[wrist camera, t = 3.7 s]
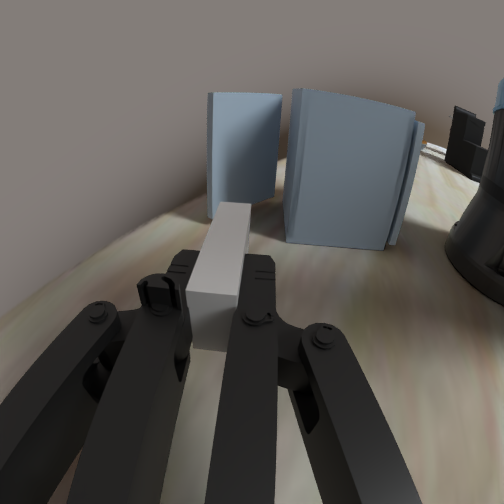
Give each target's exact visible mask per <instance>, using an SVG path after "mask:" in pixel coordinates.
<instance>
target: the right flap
mask: <svg viewBox="0 0 504 504" xmlns="http://www.w3.org/2000/svg"><path fill="white" fill-rule="evenodd" d="M281 107H282V95H280V94H266V93H238V92H236V93H235V92H233V93H232V92H229V93H228V92H221V93H219V92H217V93H208V104H207V212H208V218H210V219H212V220H213V218H214V216H215V213H216V211H217V208H218V206H219V203H220V202H234V203H248V204H251V205H252V204H255V203H258V202H260V201H263V200H266V199H268V198H271V197H274V193H275V181H276V170H277V158H278V146H279V132H280V119H281Z"/></svg>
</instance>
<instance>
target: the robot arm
mask: <svg viewBox="0 0 504 504" xmlns="http://www.w3.org/2000/svg"><path fill="white" fill-rule="evenodd" d="M493 114H494V120H493V127H492V133H491V138H490V144H489V148H488V153H487V157H486V161H485V165H484V169H483V174H482V177H481V181H480V184H479V188H478V191H477V193H476V194H475V196H474V198H473V199H472V200H471V202H470V204H469V205H468V207H467V208H466V210H465V211H464V213H463V215H462V217H461V218H460V220H459V221H457V222H456V223H455V224H454V225H453V226H452V228H451V230H450V233H449V236H448V238H447V241H446V244H445V249H446V253H447V255H448V257H449V259H450V261H451V262H452V263H453V265H454V266H455V267H456V269H457V270H458V271H459V272H460V273H461V274H462V275H463V276H464V277H465V278H466V279H467V280H468V281H469V282H470V283H471V284H472V285H473V286H475V287H476V288H477V289H478V290H480V291H481V292H482V293H484V294H485V295H487V296H488V297H490V298H491V299H493V300H495V301H497V302H498V303H500V304H502V305H504V78H503V79H502V80H501V81H500V83H499V85H498V92H497V97H496V104H495V107H494V108H493ZM250 215H251V204H248V203H234V202H220V203H219V206H218V208H217V211H216V213H215V216H214V218H213V220H212V223H211V225H210V228H209V230H208V233H207V235H206V238H205V240H204V243H203V246H202V248H201V251H196V250H184V249H183V250H182V251H180V252H179V253H178V254H177V255H175V256H174V258H173V260H172V262H171V265H170V266H169V268H168V270H167V272H166V274H153V275H149V276H147V277H145V278H143V279H141V280H140V281H139V283H138V284H137V288H138V293H139V297H140V300H141V304H142V306H141V308H139V309H135V310H128V311H118V312H117V309H116V307H115V305H113V304H112V303H110V302H107V301H96V302H94V303H91V304H89V305H88V306H87V307H85V308H84V309H83V310H82V311H81V312H80V313H79V314H78V315H77V316H76V317H75V318H74V319H73V320H72V321H71V323H70V324H69V325H68V326H67V327H66V328H65V329H64V330H63V331H62V332H61V333H60V334H59V335H58V337H57V338H56V339H55V340H54V341H53V342H52V343H51V344H50V345H49V346H48V348H47V349H46V350H45V351H44V352H43V353H42V354H41V356H40V357H39V358H38V359H37V360H36V361H35V362H34V364H33V365H32V366H31V367H30V368H29V370H28V371H27V372H26V373H25V374H24V376H23V377H22V378H21V379H20V380H19V382H18V383H17V384H16V385H15V387H14V388H13V389H12V390H11V392H10V393H9V394H8V396H7V397H6V398H5V399H4V401H3V402H2V403H1V405H0V504H47V502H48V501H49V499H50V497H51V496H52V494H53V492H54V491H55V489H56V488H57V486H58V484H59V483H60V481H61V480H62V478H63V476H64V475H65V473H66V472H67V470H68V468H69V467H70V465H71V464H72V462H73V461H74V459H75V457H76V456H77V454H78V453H79V451H80V450H81V448H82V447H83V449H82V452H81V455H80V458H79V462H78V465H77V468H76V471H75V475H74V478H73V482H72V485H71V489H70V492H69V496H68V500H67V504H159V503H160V497H161V492H162V487H163V482H164V476H165V471H166V467H167V462H168V457H169V452H170V447H171V443H172V438H173V433H174V429H175V424H176V420H177V415H178V411H179V407H180V402H181V398H182V394H183V389H184V385H185V381H186V377H187V373H188V368H189V364H190V351H189V350H190V346H191V342H192V343H193V348H196V349H204V350H212V351H221V352H227V355H226V361H225V368H224V374H223V381H222V387H221V394H220V401H219V407H218V414H217V421H216V427H215V434H214V441H213V448H212V455H211V461H210V468H209V475H208V482H207V490H206V497H205V504H274V498H275V474H276V443H277V393H278V386H281V387H284V388H287V389H288V392H289V395H290V399H291V402H292V405H293V409H294V412H295V415H296V418H297V422H298V425H299V428H300V431H301V435H302V438H303V441H304V444H305V448H306V451H307V454H308V457H309V461H310V464H311V467H312V470H313V473H314V477H315V480H316V483H317V486H318V490H319V493H320V496H321V499H322V502H323V504H422V502H421V500H420V497H419V495H418V492H417V490H416V487H415V485H414V482H413V480H412V478H411V475H410V473H409V470H408V468H407V466H406V463H405V461H404V459H403V457H402V454H401V452H400V450H399V447H398V445H397V443H396V441H395V438H394V436H393V434H392V432H391V430H390V427H389V425H388V423H387V421H386V419H385V417H384V415H383V412H382V410H381V408H380V406H379V404H378V402H377V400H376V398H375V396H374V393H373V391H372V389H371V387H370V385H369V383H368V381H367V379H366V377H365V375H364V373H363V371H362V369H361V367H360V365H359V363H358V361H357V359H356V357H355V355H354V353H353V351H352V349H351V347H350V345H349V343H348V341H347V339H346V338H345V336H344V334H343V333H342V332H341V331H340V330H339V329H338V328H336V327H335V326H333V325H330V324H326V323H315V324H312V325H309V326H308V327H307V328H305V329H301V328H297V327H294V326H292V325H289V324H287V323H286V322H284V321H283V320H282V319H281V318H280V317H279V316H278V314H277V312H276V287H275V262H274V261H273V259H272V258H271V256H269V255H257V254H248V249H249V232H250ZM83 445H84V446H83Z"/></svg>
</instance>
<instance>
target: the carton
mask: <svg viewBox="0 0 504 504" xmlns="http://www.w3.org/2000/svg"><path fill="white" fill-rule="evenodd" d="M415 113H416V112H414V111H410V110H407V109H404V108H400V107H396V106H392V105H388V104H385V103H381V102H377V101H372V100H368V99H363V98H358V97H354V96H348V95H343V94H337V93H331V92H325V91H319V90H311V89H303V88H301V89H293V92H292V104H291V116H290V128H289V139H288V150H287V161H286V171H285V181H284V191H283V201H282V202H283V213H284V224H285V235H286V243H297V244H310V245H322V246H334V247H346V248H358V249H369V250H381V251H383V250H384V247H385V244H386V241H387V242H388V244H389V245H395V244H396V241H397V238H398V235H399V232H400V228H401V225H402V222H403V218H404V215H405V212H406V208H407V204H408V201H409V197H410V193H411V189H412V185H413V181H414V177H415V173H416V169H417V164H418V159H419V155H420V150H421V145H422V139H423V134H424V128H425V124H424V123H421V122H418V121H415Z"/></svg>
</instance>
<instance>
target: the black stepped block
mask: <svg viewBox="0 0 504 504" xmlns="http://www.w3.org/2000/svg"><path fill="white" fill-rule="evenodd" d="M484 126H485V122H484V121H482V120H479V119H477V118H476V114H474V113H471V112H469V111H467V110H465V109H462V108H460V107H457V106H455V107H454V114H453V120H452V126H451V131H450V137H449V142H448V147H447V151H446V156H445V161H446V162H447V163H449V164H450V165H452V166H453V167H455V168H456V169H457V170H459V171H460V172H462V173H463V174H464V175H466V176H467V177H468V178H470V179H471V180H473V181H476V182H479V183H480V181H481V177H482V174H483V169H484V165H485V161H486V157H487V153H488V150H486V149H484V148H483V147H481V142H482V137H483V132H484Z"/></svg>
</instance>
